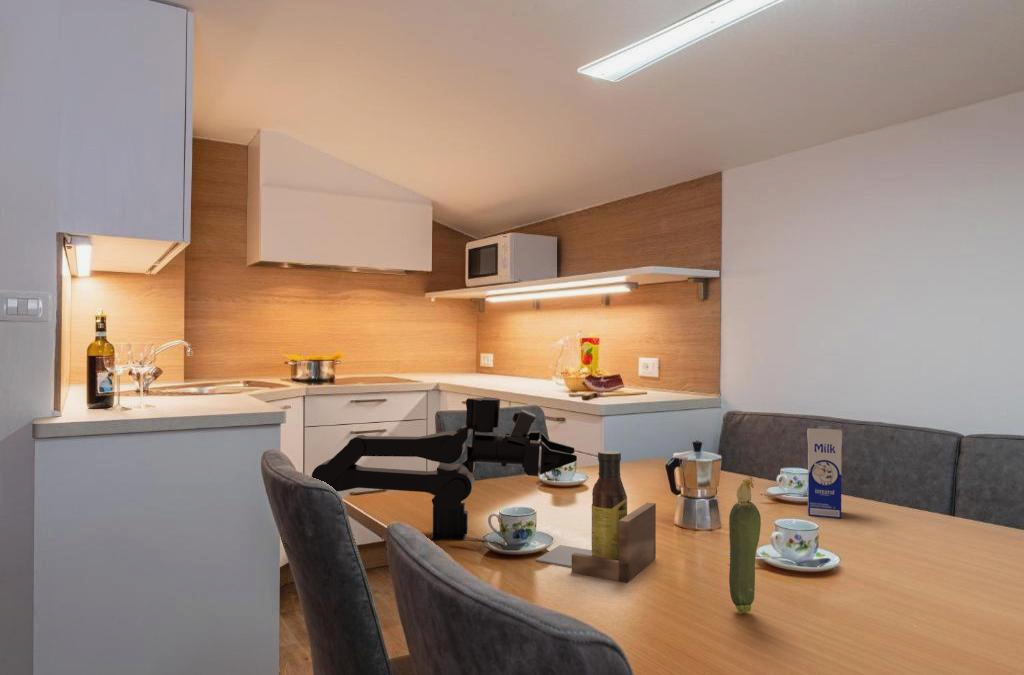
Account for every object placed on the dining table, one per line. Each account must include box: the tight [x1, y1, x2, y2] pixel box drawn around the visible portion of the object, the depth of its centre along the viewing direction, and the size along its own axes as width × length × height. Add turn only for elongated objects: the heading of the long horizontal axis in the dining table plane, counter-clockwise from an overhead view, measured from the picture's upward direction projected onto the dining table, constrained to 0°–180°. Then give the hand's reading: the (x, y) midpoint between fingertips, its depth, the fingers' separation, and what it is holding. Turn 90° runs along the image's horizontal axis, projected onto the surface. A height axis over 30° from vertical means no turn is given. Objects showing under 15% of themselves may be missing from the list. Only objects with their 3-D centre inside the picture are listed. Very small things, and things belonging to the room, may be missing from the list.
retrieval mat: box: [535, 544, 592, 569], centre depth 127 cm, size 8×10×1 cm
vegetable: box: [728, 476, 762, 615], centre depth 102 cm, size 4×4×20 cm
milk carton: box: [806, 425, 843, 519], centre depth 159 cm, size 7×7×20 cm
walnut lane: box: [571, 502, 657, 583], centre depth 122 cm, size 10×14×10 cm
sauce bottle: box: [591, 450, 628, 560], centre depth 123 cm, size 7×6×20 cm
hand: (575, 454), depth 139 cm, fingers open, 9 cm apart
